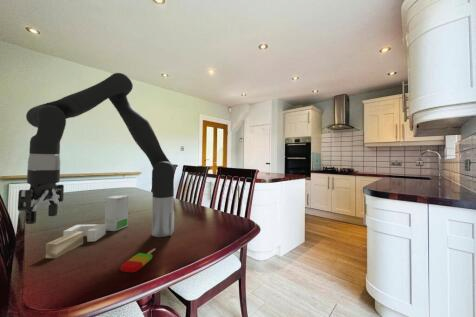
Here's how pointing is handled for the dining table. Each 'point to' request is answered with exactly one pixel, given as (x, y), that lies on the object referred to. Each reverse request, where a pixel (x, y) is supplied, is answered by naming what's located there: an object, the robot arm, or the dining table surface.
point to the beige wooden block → (64, 244)
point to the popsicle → (137, 262)
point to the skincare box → (116, 212)
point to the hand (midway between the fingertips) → (42, 219)
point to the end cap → (88, 231)
